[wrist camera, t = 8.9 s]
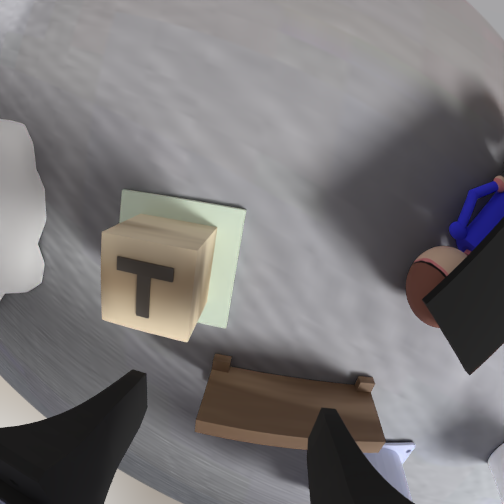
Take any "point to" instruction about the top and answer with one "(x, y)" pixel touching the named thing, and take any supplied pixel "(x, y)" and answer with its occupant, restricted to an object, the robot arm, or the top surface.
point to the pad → (225, 244)
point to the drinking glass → (498, 469)
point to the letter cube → (156, 274)
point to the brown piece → (283, 407)
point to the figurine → (19, 211)
